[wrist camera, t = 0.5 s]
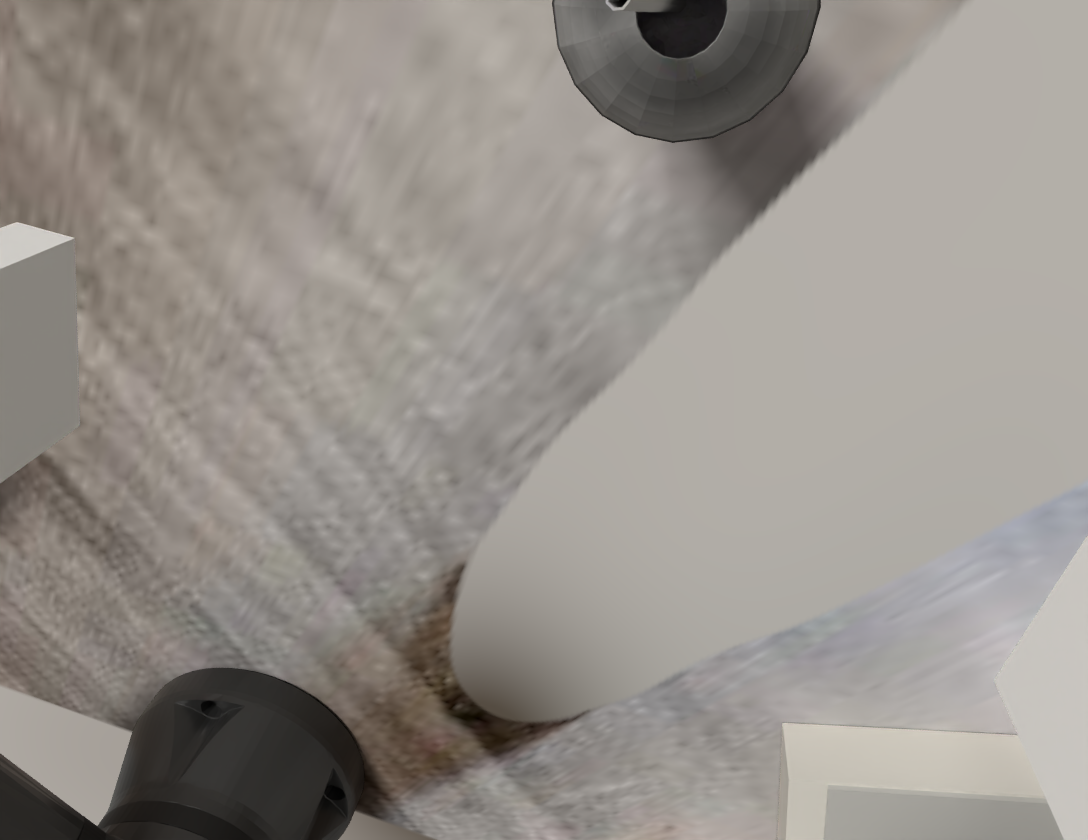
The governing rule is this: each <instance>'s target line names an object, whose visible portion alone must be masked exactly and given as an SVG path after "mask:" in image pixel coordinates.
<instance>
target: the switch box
mask: <svg viewBox="0 0 1088 840" xmlns="http://www.w3.org/2000/svg"><path fill="white" fill-rule="evenodd" d="M777 840H1064V839H1063V836H1062V834H1061V832H1060V829H1059V827H1058V825H1057V823H1056V820H1055V818H1054V816H1053V814H1052V811H1051V809H1050V807H1049V805H1048V802H1047V800H1046V798H1045V796H1044V793H1043V791H1042V789H1041V787H1040V784H1039V782H1038V780H1037V777H1036V775H1035V773H1034V771H1033V768H1032V766H1031V764H1030V762H1029V759H1028V757H1027V755H1026V753H1025V750H1024V748H1023V746H1022V744H1021V741H1020V739H1019V737H1018V735H1008V734H989V733H970V732H951V731H931V730H912V729H893V728H874V727H855V726H836V725H817V724H797V723H782V743H781V764H780V785H779V807H778V828H777Z"/></svg>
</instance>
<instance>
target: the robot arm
mask: <svg viewBox="0 0 1088 840" xmlns="http://www.w3.org/2000/svg"><path fill="white" fill-rule="evenodd" d="M79 426H80V407H79V372H78V336H77V300H76V265H75V238H73V237H69V236H65V235H62V234H58V233H54V232H51V231H47V230H43V229H40V228H36V227H32V226H29V225H25V224H22V223H18V222H16V223H13V224H10V225H8V226H5V227H2V228H0V483H2V482H3V481H4V480H6V479H7V478H9V477H10V476H11V475H13V474H14V473H15V472H17V471H18V470H20V469H21V468H22V467H24V466H25V465H26V464H28V463H29V462H31V461H32V460H33V459H35V458H36V457H37V456H39V455H40V454H42V453H43V452H44V451H46V450H47V449H48V448H50V447H51V446H53V445H54V444H55V443H57V442H58V441H59V440H61V439H62V438H64V437H65V436H66V435H68V434H69V433H70V432H72V431H73V430H75V429H76V428H77V427H79ZM994 683H995V685H996V687H997V689H998V692H999V694H1000V696H1001V698H1002V701H1003V703H1004V705H1005V707H1006V710H1007V712H1008V714H1009V716H1010V719H1011V721H1012V723H1013V726H1014V728H1015V730H1016V732H1017V735H1018V737H1019V739H1020V741H1021V744H1022V746H1023V748H1024V750H1025V753H1026V755H1027V757H1028V759H1029V762H1030V764H1031V766H1032V768H1033V771H1034V773H1035V775H1036V777H1037V780H1038V782H1039V784H1040V787H1041V789H1042V791H1043V793H1044V796H1045V798H1046V800H1047V802H1048V805H1049V807H1050V809H1051V811H1052V814H1053V816H1054V818H1055V820H1056V823H1057V825H1058V827H1059V829H1060V832H1061V834H1062V836H1063V839H1064V840H1088V535H1087V537H1086V538H1085V540H1084V542H1083V543H1082V545H1081V546H1080V548H1079V549H1078V551H1077V552H1076V554H1075V555H1074V557H1073V559H1072V560H1071V562H1070V563H1069V565H1068V566H1067V568H1066V569H1065V571H1064V572H1063V574H1062V576H1061V577H1060V579H1059V580H1058V582H1057V583H1056V585H1055V586H1054V588H1053V589H1052V591H1051V593H1050V594H1049V596H1048V597H1047V599H1046V600H1045V602H1044V603H1043V605H1042V606H1041V608H1040V610H1039V611H1038V613H1037V614H1036V616H1035V617H1034V619H1033V620H1032V622H1031V623H1030V625H1029V627H1028V628H1027V630H1026V631H1025V633H1024V634H1023V636H1022V637H1021V639H1020V640H1019V642H1018V644H1017V645H1016V647H1015V648H1014V650H1013V651H1012V653H1011V654H1010V656H1009V657H1008V659H1007V661H1006V662H1005V664H1004V665H1003V667H1002V668H1001V670H1000V671H999V673H998V674H997V676H996V678H995V679H994ZM363 786H364V767H363V762H362V759H361V756H360V753H359V750H358V748H357V746H356V744H355V742H354V740H353V739H352V737H351V736H350V734H349V733H348V731H347V730H346V728H345V727H344V726H343V725H342V724H341V722H340V721H339V720H338V719H337V718H336V717H335V716H334V715H333V714H332V713H331V712H330V711H329V710H328V709H326V708H325V707H324V706H323V705H322V704H320V703H319V702H318V701H316V700H315V699H314V698H312V697H311V696H309V695H308V694H306V693H304V692H303V691H301V690H299V689H297V688H295V687H294V686H292V685H290V684H287V683H285V682H283V681H281V680H278V679H276V678H273V677H270V676H267V675H264V674H260V673H257V672H252V671H248V670H241V669H233V668H209V669H202V670H197V671H192V672H189V673H186V674H184V675H181V676H179V677H177V678H175V679H173V680H172V681H170V682H169V683H168V684H166V685H165V686H164V687H163V688H162V689H161V690H160V691H159V692H158V694H157V695H156V696H155V697H154V699H153V700H152V701H151V703H150V704H149V706H148V707H147V708H146V710H145V711H144V712H143V714H142V715H141V716H140V718H139V720H138V721H137V723H136V725H135V727H134V730H133V732H132V735H131V739H130V742H129V745H128V748H127V752H126V755H125V758H124V761H123V764H122V768H121V771H120V774H119V778H118V781H117V784H116V788H115V790H114V794H113V797H112V800H111V803H110V807H109V809H108V811H107V813H106V815H105V816H104V817H103V819H102V820H101V822H100V823H99V825H98V826H96V825H95V824H93V823H92V822H91V821H89V820H88V819H86V818H85V817H84V816H82V815H81V814H80V813H78V812H77V811H75V810H74V809H73V808H72V807H70V806H69V805H68V804H66V803H65V802H64V801H62V800H61V799H60V798H58V797H57V796H56V795H54V794H53V793H52V792H50V791H49V790H48V789H47V788H45V787H44V786H43V785H41V784H40V783H39V782H37V781H36V780H35V779H33V778H32V777H31V776H29V775H28V774H27V773H25V772H24V771H23V770H21V769H20V768H18V767H17V766H16V765H15V764H13V763H12V762H11V761H9V760H8V759H7V758H5V757H4V756H3V755H1V754H0V840H338V839H339V838H340V837H341V835H342V834H343V833H344V831H345V830H346V828H347V826H348V825H349V823H350V821H351V818H352V816H353V814H354V811H355V809H356V806H357V804H358V802H359V799H360V797H361V794H362V791H363Z"/></svg>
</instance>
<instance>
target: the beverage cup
mask: <svg viewBox="0 0 1088 840" xmlns="http://www.w3.org/2000/svg"><path fill="white" fill-rule="evenodd" d="M552 6H553V14H554V22H555V29H556V37H557V45H558V49H559V51H560V53H561V55H562V58H563V60H564V62H565V64H566V67H567V69H568V71H569V73H570V76H571V78H572V80H573V82H574V85H575V86H576V87H577V88H578V89H579V91H580V92H581V93H582V94H583V95H584V96H585V97H586V98H587V100H588V101H589V102H590V103H591V104H592V105H593V106H594V108H595V109H596V110H597V111H598V112H599V113H600V114H601V115H602V116H603V117H605V118H607V119H609V120H610V121H612V122H614V123H615V124H617V125H619V126H621V127H622V128H624V129H626V130H627V131H629V132H631V133H633V134H634V135H638V136H643V137H648V138H653V139H658V140H663V141H667V142H672V143H675V142H683V141H691V140H699V139H707V138H713V137H716V136H718V135H720V134H722V133H724V132H726V131H728V130H731V129H733V128H735V127H737V126H739V125H741V124H744V123H746V122H748V121H750V120H751V119H753V118H754V117H755V116H756V115H757V114H758V113H759V112H760V111H762V110H763V109H764V108H765V107H766V106H767V105H768V104H769V103H771V102H772V101H773V100H774V99H775V98H776V97H777V96H778V95H780V94H781V93H782V92H783V91H784V89H785V88H786V86H787V84H788V83H789V81H790V80H791V78H792V76H793V75H794V73H795V72H796V70H797V68H798V67H799V65H800V64H801V62H802V61H803V59H804V57H805V56H806V54H807V53H808V49H809V46H810V42H811V39H812V35H813V32H814V28H815V25H816V21H817V18H818V15H819V11H820V8H821V0H553V1H552Z"/></svg>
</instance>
